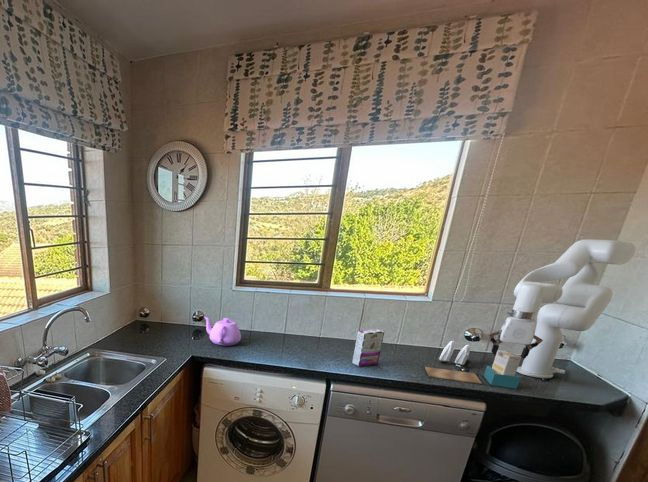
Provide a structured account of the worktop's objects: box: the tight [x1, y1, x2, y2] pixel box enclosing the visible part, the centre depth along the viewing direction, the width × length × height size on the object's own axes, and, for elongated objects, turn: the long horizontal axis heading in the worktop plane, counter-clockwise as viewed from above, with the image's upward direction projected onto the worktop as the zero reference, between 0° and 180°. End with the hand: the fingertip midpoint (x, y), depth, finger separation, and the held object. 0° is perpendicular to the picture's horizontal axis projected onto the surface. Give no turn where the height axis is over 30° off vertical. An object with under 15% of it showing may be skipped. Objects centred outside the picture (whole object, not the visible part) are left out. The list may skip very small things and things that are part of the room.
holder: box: [483, 365, 521, 389], centre depth 171 cm, size 9×12×5 cm
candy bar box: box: [351, 328, 385, 367], centre depth 190 cm, size 11×5×16 cm, turn 105°
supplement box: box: [491, 350, 522, 376], centre depth 170 cm, size 8×5×13 cm, turn 168°
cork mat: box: [424, 366, 483, 385], centre depth 179 cm, size 19×13×1 cm
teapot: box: [203, 316, 242, 347], centre depth 222 cm, size 22×22×14 cm
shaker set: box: [438, 340, 471, 366], centre depth 193 cm, size 12×4×11 cm, turn 74°
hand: (508, 355), depth 168 cm, fingers open, 9 cm apart
